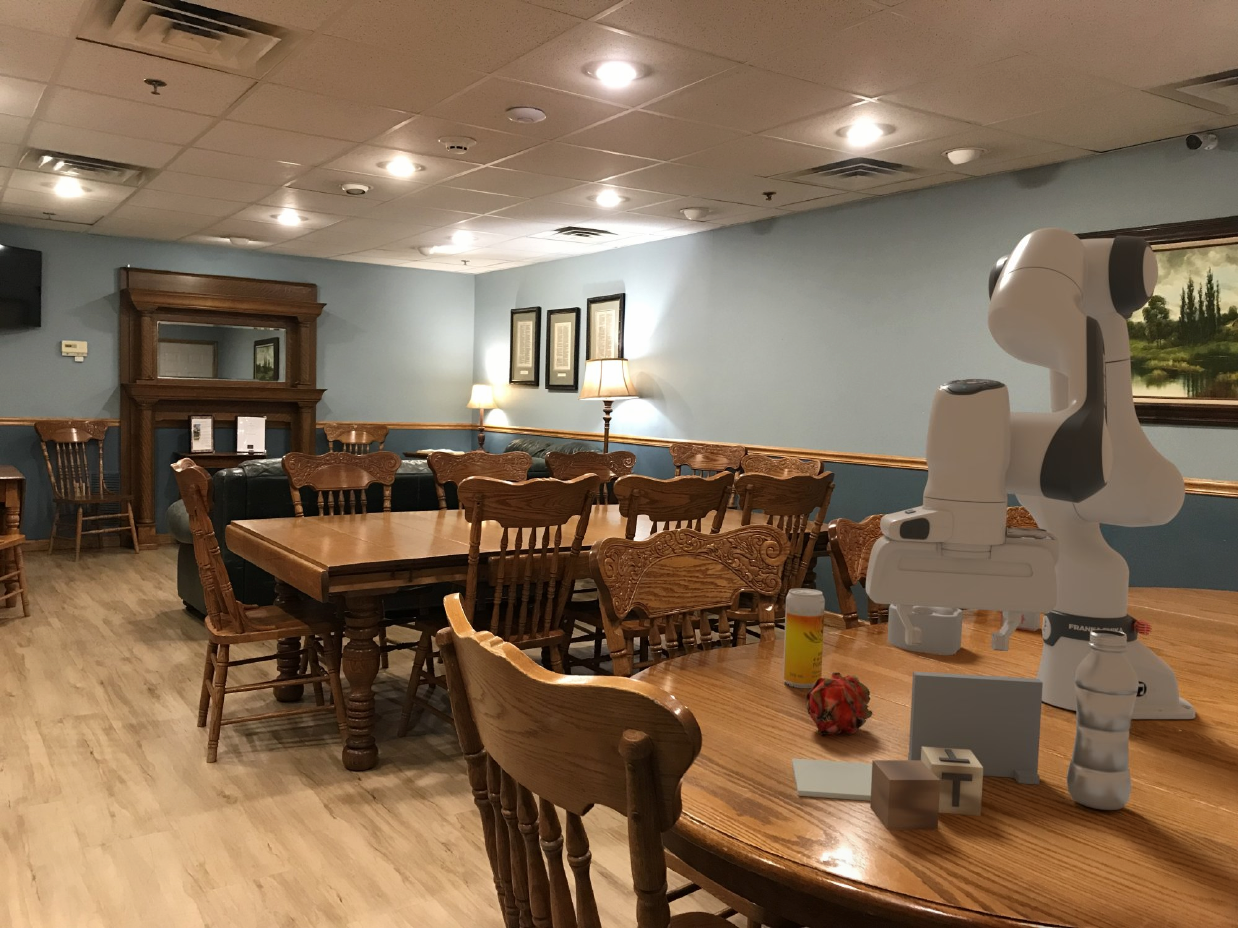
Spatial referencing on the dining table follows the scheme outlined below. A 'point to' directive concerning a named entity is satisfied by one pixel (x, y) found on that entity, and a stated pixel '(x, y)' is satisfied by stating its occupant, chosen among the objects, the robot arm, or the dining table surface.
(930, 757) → the lettered cube
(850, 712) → the dragon fruit
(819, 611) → the beer can
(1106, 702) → the plastic bottle
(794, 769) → the coaster
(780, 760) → the dining table surface
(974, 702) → the grey board
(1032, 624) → the tea bag
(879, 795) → the plain cube
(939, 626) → the lumpy-topped squat cylinder
